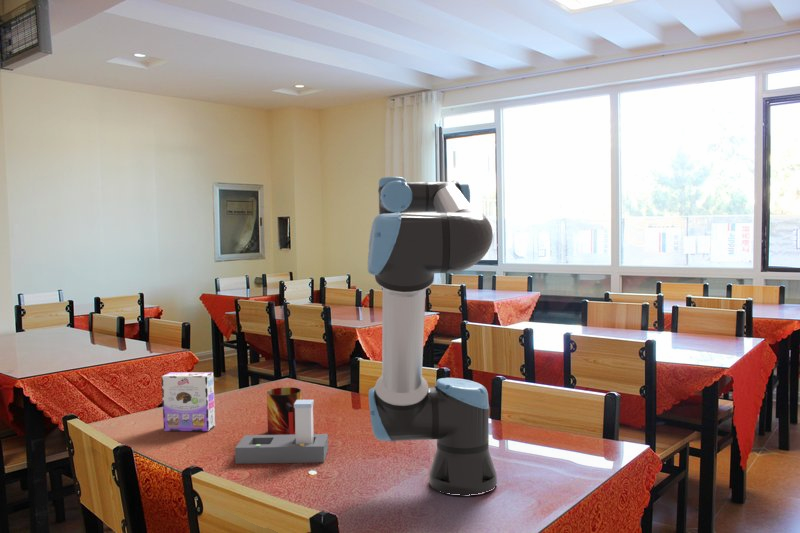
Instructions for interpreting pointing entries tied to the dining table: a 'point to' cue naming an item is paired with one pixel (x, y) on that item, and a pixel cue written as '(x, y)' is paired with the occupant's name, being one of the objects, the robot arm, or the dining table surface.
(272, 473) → the dining table surface
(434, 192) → the robot arm
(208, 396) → the candy box
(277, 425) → the mug
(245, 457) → the panel
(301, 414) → the plug
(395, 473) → the dining table surface
